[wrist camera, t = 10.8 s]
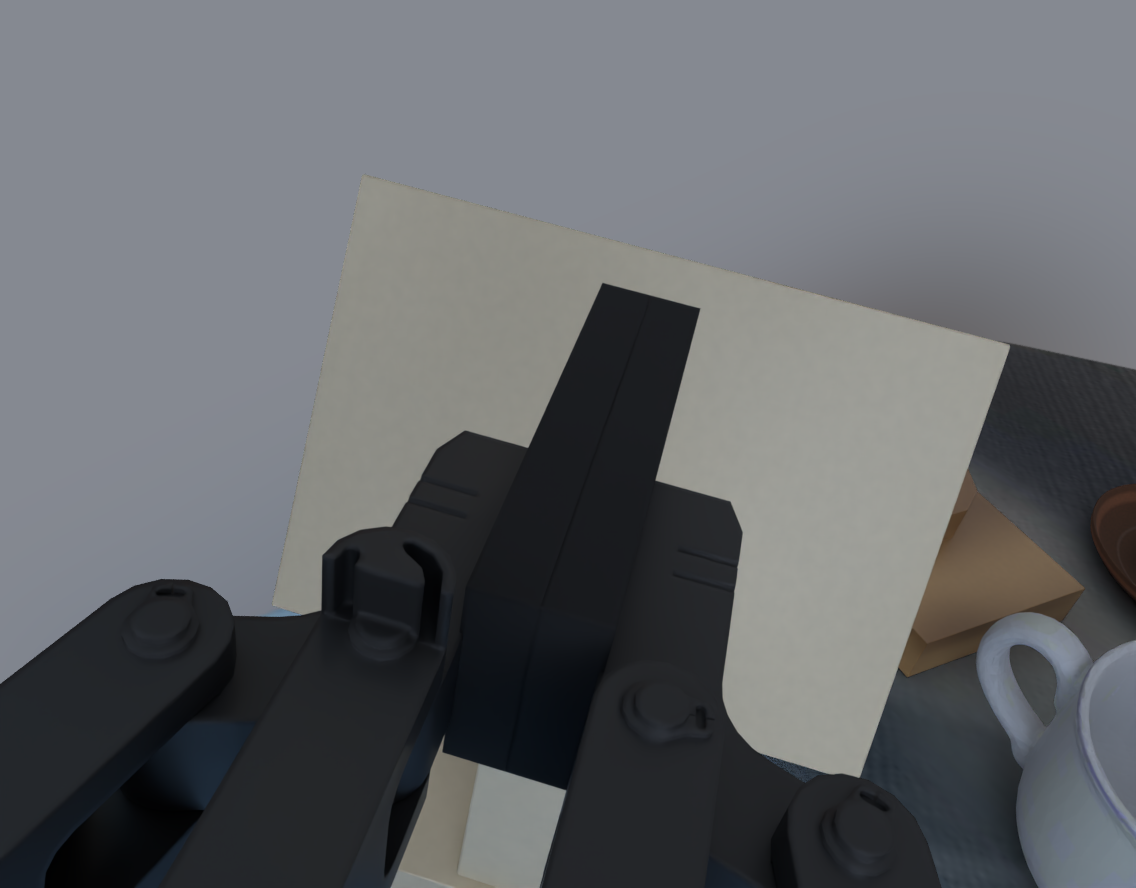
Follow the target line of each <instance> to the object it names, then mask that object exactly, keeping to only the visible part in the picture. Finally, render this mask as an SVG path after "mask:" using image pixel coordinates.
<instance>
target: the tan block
mask: <svg viewBox="0 0 1136 888" xmlns="http://www.w3.org/2000/svg"><path fill="white" fill-rule="evenodd" d="M1084 590H1085V588H1084V587H1083V586H1082V585H1081V584H1080V583H1079V582H1078V581H1077V580H1075V579H1074V578H1073V577H1072V576H1071V575H1070V574H1069V573H1068V572H1067V571H1065V570H1064V569H1063V568H1062V567H1061V566H1060V565H1059V564H1058V563H1057V562H1055V561H1054V560H1053V559H1052V558H1051V557H1050V556H1049V555H1048V554H1047V553H1045V552H1044V551H1043V550H1042V549H1041V548H1040V547H1039V546H1038V545H1036V544H1035V543H1034V542H1033V541H1032V540H1031V539H1030V538H1029V537H1028V536H1026V535H1025V534H1024V533H1023V532H1022V531H1021V530H1020V529H1019V528H1018V527H1016V526H1015V525H1014V524H1013V523H1012V522H1011V521H1010V520H1009V519H1007V518H1006V517H1005V516H1004V515H1003V514H1002V513H1001V512H1000V511H999V510H997V509H996V508H995V507H994V506H993V505H992V504H991V503H990V502H989V501H987V500H986V499H985V498H984V497H983V496H982V495H981V494H980V493H979V492H977V489H976V486H975V484H974V482H973V479H972V477H971V474H970V472H969V470H968V469H967V472H966V475H965V478H964V481H963V483H962V486H961V489H960V492H959V495H958V498H957V501H956V503H955V506H954V509H953V512H952V515H951V518H950V521H949V523H948V526H947V529H946V532H945V535H944V538H943V541H942V544H941V546H940V549H939V552H938V555H937V558H936V561H935V564H934V566H933V569H932V572H931V575H930V578H929V581H928V584H927V586H926V589H925V592H924V595H923V598H922V601H921V604H920V606H919V609H918V612H917V615H916V618H915V621H914V624H913V627H912V629H911V632H910V635H909V638H908V641H907V644H906V647H905V649H904V652H903V655H902V658H901V661H900V664H899V667H898V668H899V669H900V670H901V671H902V672H903V673H904V674H905V676H906V677H909V676H912V675H915V674H918V673H920V672H923V671H926V670H929V669H931V668H934V667H937V666H939V665H942V664H945V663H948V662H950V661H953V660H956V659H959V658H961V657H964V656H967V655H969V654H972V653H975V652H977V650H978V647H979V644H980V642H981V639H982V637H983V636H984V634H985V633H986V632H987V631H988V630H989V628H990V627H991V626H992V625H993V624H995V623H996V622H997V621H999V620H1000V619H1002V618H1004V617H1006V616H1009V615H1012V614H1016V613H1024V612H1033V613H1039V614H1042V615H1045V616H1048V617H1051V618H1054V619H1055V620H1057V621H1058V622H1060V621H1062V620H1063V619H1064V618H1065V616H1066V615H1067V614H1068V612H1069V611H1070V609H1071V608H1072V607H1073V605H1074V604H1075V602H1076V601H1077V600H1078V598H1079V597H1080V595H1081V594H1082V592H1083V591H1084Z"/></svg>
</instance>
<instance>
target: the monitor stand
mask: <svg viewBox="0 0 1136 888" xmlns="http://www.w3.org/2000/svg"><path fill="white" fill-rule="evenodd" d="M444 736H445V735H444ZM443 743H444V737H443V740H442V742H441V745H440V747H439V750H438V752H437V755H436V757H435V760H434V762H433V765H432V767H431V770H430V778H429V784H428V790H427V796H426V800H425V802H424V805H423V807H422V810H421V812H420V815H419V817H418V820H417V822H416V825H415V827H414V830H413V833H412V835H411V838H410V840H409V843H408V845H407V848H406V850H405V853H404V855H403V858H402V860H401V863H400V865H399V868H398V871H397V873H396V876H395V878H394V881H393V883H392V886H391V888H540V884H541V880H542V877H543V871H544V868H545V864H546V861H547V857H548V854H549V850H550V847H551V843H552V840H553V836H554V833H555V829H556V826H557V822H558V819H559V815H560V812H561V808H562V805H563V801H564V797H565V793H566V790H563V789H560V788H556V787H553V786H550V785H547V784H543V783H540V782H537V781H534V780H530V779H527V778H524V777H521V776H517V775H514V774H511V773H508V772H504V771H501V770H498V769H495V768H491V767H488V766H485V765H482V764H478V763H475V762H472V761H469V760H465V759H462V758H459V757H456V756H452V755H449V754H446V753H443V752H442V750H443Z"/></svg>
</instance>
